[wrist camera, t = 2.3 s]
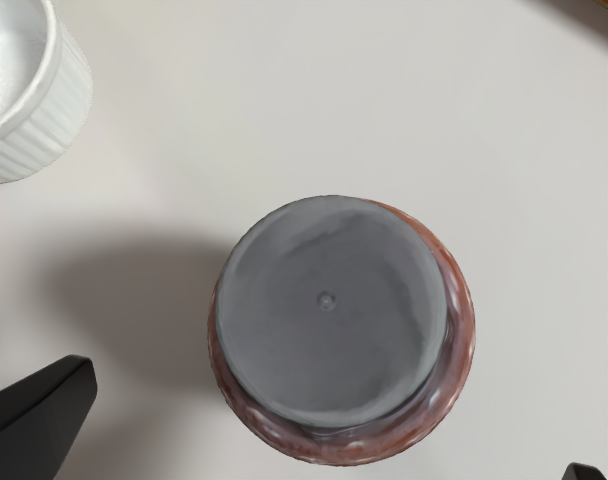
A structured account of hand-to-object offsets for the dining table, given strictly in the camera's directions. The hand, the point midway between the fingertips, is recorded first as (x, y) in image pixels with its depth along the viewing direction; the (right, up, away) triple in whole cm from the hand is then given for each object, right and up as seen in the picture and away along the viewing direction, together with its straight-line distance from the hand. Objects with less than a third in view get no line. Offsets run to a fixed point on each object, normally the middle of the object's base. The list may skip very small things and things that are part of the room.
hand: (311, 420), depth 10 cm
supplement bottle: (+2, -1, +10) cm, 10 cm away
